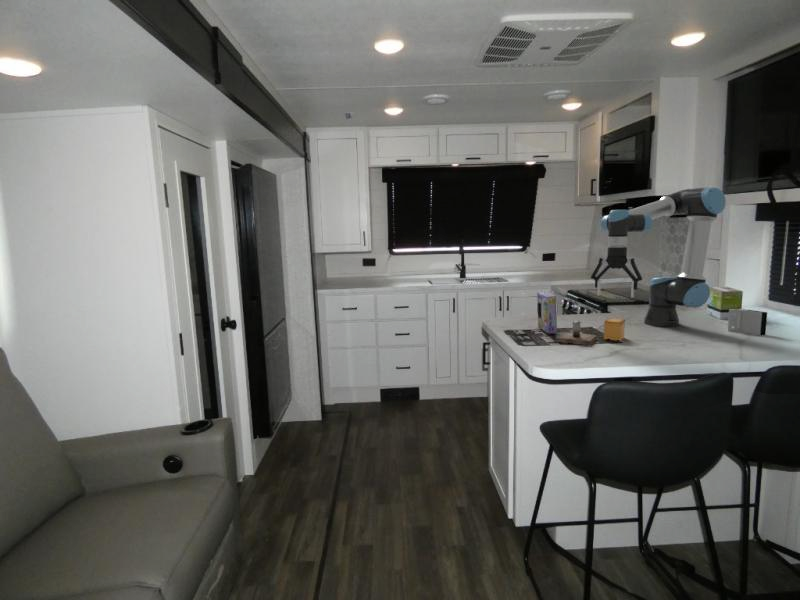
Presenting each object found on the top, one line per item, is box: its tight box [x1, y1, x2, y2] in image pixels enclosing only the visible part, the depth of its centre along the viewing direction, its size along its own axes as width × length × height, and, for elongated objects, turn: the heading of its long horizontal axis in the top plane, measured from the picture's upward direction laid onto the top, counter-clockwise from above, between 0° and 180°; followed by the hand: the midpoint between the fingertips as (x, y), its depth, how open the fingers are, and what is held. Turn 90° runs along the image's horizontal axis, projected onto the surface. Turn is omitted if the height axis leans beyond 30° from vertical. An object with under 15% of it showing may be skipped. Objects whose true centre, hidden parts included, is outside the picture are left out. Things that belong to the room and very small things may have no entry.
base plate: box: [555, 331, 597, 346], centre depth 212 cm, size 14×12×2 cm
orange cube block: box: [603, 318, 626, 342], centre depth 214 cm, size 7×7×8 cm
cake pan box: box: [536, 290, 558, 334], centre depth 234 cm, size 19×5×18 cm, turn 178°
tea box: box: [706, 286, 744, 320], centre depth 253 cm, size 15×10×15 cm
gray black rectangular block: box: [727, 308, 768, 336], centre depth 218 cm, size 14×5×10 cm, turn 37°
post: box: [572, 320, 581, 337], centre depth 212 cm, size 3×3×6 cm
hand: (615, 296), depth 212 cm, fingers open, 13 cm apart
